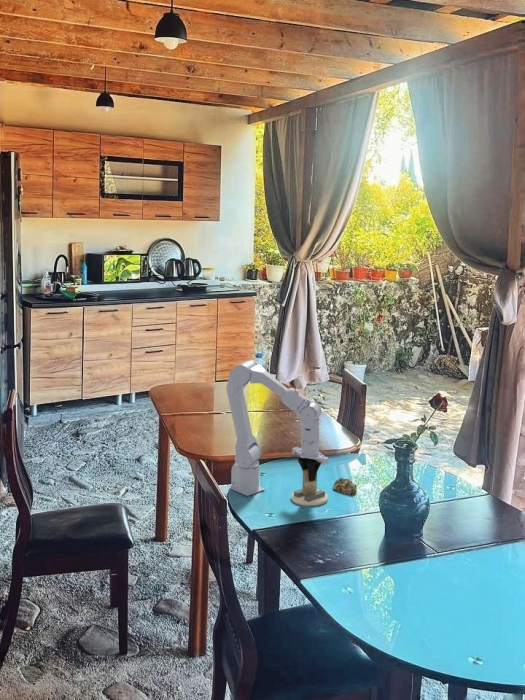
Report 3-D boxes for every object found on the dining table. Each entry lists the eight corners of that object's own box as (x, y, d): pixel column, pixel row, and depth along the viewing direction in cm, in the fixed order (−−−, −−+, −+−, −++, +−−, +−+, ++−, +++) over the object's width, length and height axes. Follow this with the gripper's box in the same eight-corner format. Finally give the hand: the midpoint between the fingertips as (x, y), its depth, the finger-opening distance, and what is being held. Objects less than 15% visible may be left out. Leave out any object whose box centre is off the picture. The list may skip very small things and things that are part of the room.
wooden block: (302, 493, 238) (302, 470, 236) (313, 489, 241) (313, 466, 239) (306, 494, 236) (306, 471, 235) (316, 491, 240) (317, 467, 238)
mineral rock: (326, 480, 250) (347, 471, 252) (329, 491, 251) (349, 482, 254) (340, 492, 240) (362, 483, 242) (343, 503, 242) (364, 494, 244)
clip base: (283, 498, 240) (283, 491, 239) (309, 488, 247) (309, 482, 247) (309, 509, 231) (309, 501, 230) (335, 499, 239) (335, 492, 238)
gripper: (285, 437, 238) (285, 476, 241) (317, 447, 227) (317, 489, 230) (301, 432, 243) (300, 471, 245) (333, 443, 232) (332, 483, 235)
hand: (309, 479), depth 238 cm, fingers closed on wooden block, 1 cm apart
